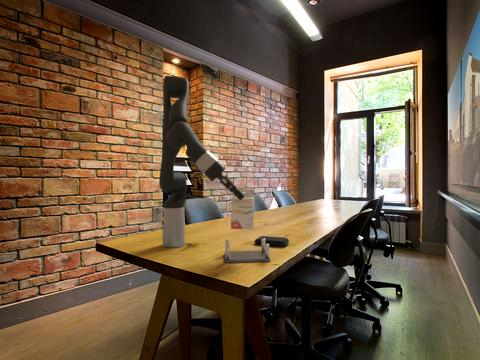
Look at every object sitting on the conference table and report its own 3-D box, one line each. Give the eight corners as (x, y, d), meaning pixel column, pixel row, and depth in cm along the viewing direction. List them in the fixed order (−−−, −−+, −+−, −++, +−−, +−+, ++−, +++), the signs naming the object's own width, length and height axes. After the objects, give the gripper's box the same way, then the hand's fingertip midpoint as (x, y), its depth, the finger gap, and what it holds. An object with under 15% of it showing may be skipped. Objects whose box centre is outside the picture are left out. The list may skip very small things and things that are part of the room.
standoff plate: (225, 262, 101) (225, 246, 101) (224, 253, 113) (224, 239, 112) (270, 261, 102) (270, 245, 102) (265, 252, 114) (265, 238, 113)
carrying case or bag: (290, 243, 131) (261, 240, 137) (290, 236, 131) (260, 234, 137) (284, 248, 121) (253, 245, 127) (284, 241, 121) (253, 239, 127)
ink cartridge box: (230, 229, 104) (230, 189, 104) (232, 226, 109) (232, 188, 109) (253, 229, 104) (253, 190, 103) (254, 226, 109) (254, 188, 108)
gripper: (216, 157, 98) (250, 191, 99) (218, 160, 113) (247, 189, 113) (201, 172, 98) (235, 206, 99) (204, 173, 113) (234, 203, 113)
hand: (241, 197), depth 106 cm, fingers closed on ink cartridge box, 5 cm apart
